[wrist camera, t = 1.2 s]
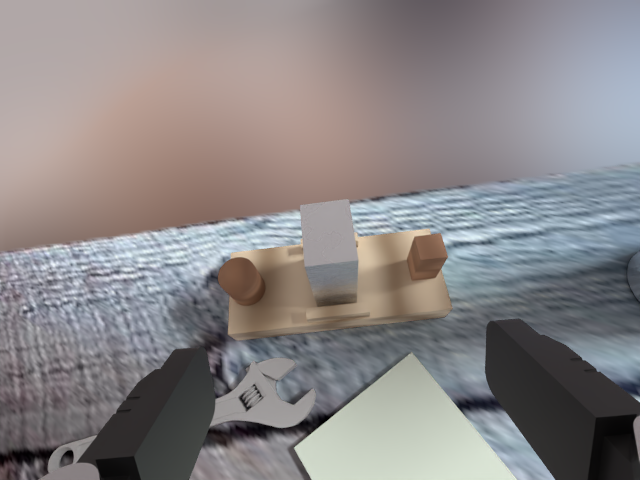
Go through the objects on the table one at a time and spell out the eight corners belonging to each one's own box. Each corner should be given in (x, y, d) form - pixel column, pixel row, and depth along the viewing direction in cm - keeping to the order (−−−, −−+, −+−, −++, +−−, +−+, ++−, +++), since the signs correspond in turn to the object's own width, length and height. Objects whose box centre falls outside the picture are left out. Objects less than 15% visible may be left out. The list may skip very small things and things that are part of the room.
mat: (410, 353, 34) (411, 352, 33) (528, 496, 28) (532, 498, 27) (294, 447, 31) (293, 447, 30) (398, 630, 25) (399, 635, 24)
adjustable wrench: (58, 480, 31) (42, 484, 30) (69, 406, 34) (55, 405, 33) (318, 420, 32) (316, 420, 30) (306, 351, 35) (304, 348, 33)
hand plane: (424, 241, 39) (440, 202, 32) (445, 317, 35) (468, 291, 28) (239, 263, 40) (214, 230, 33) (237, 340, 36) (208, 321, 29)
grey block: (349, 252, 36) (348, 199, 27) (356, 302, 33) (358, 260, 25) (312, 257, 36) (299, 205, 27) (317, 306, 34) (304, 266, 25)
